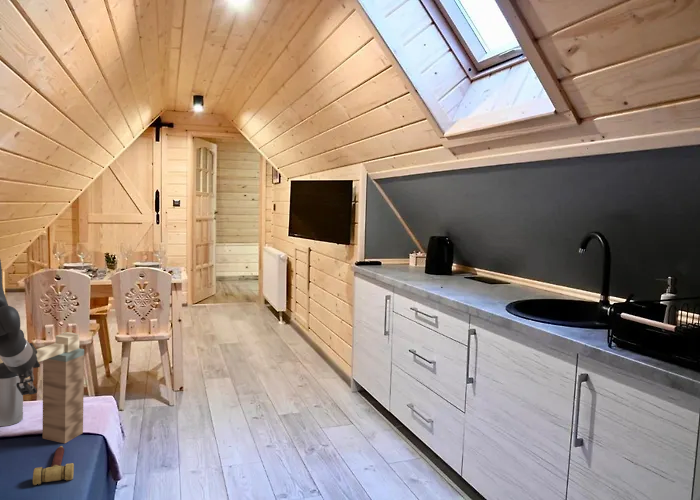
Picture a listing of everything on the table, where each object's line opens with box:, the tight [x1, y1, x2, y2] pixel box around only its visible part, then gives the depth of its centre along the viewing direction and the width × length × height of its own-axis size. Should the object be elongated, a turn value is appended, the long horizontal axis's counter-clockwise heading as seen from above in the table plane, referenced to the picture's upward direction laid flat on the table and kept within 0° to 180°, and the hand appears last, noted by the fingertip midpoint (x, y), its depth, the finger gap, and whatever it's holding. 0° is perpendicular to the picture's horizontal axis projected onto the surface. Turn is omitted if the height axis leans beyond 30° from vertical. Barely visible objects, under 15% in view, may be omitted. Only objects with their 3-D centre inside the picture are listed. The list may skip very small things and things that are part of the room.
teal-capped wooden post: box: [42, 347, 85, 444], centre depth 173 cm, size 8×9×30 cm
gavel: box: [32, 445, 75, 486], centre depth 157 cm, size 21×5×10 cm
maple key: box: [36, 331, 80, 363], centre depth 166 cm, size 17×5×5 cm, turn 166°
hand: (34, 379), depth 155 cm, fingers open, 8 cm apart
